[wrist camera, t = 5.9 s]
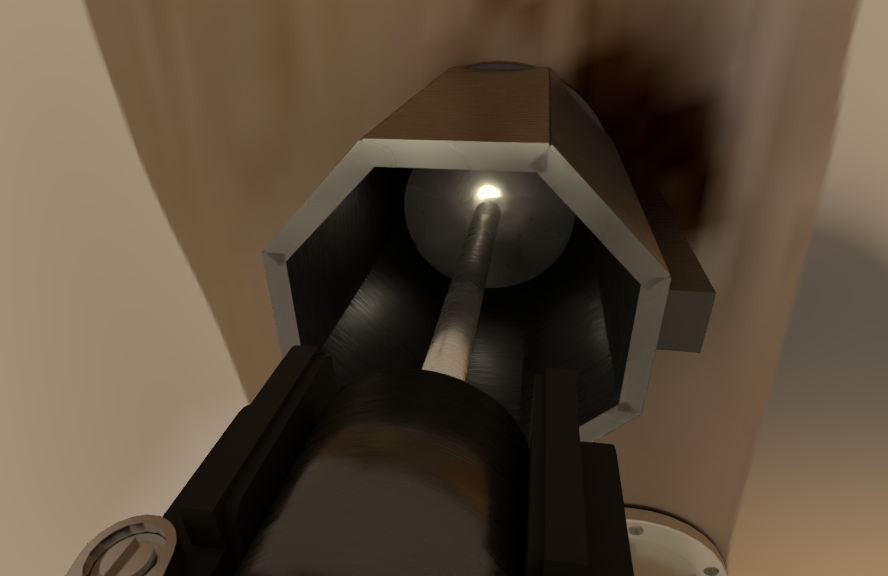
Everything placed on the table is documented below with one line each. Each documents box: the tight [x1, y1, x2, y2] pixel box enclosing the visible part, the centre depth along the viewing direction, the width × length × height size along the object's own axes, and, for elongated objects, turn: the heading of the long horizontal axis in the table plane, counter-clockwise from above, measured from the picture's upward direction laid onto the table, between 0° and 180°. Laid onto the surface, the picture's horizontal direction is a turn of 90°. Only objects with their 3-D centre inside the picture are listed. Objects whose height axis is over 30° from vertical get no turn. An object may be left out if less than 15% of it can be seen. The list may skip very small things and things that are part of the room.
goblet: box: [234, 168, 575, 576], centre depth 14 cm, size 7×7×16 cm
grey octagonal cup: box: [261, 61, 716, 445], centre depth 19 cm, size 10×11×12 cm
